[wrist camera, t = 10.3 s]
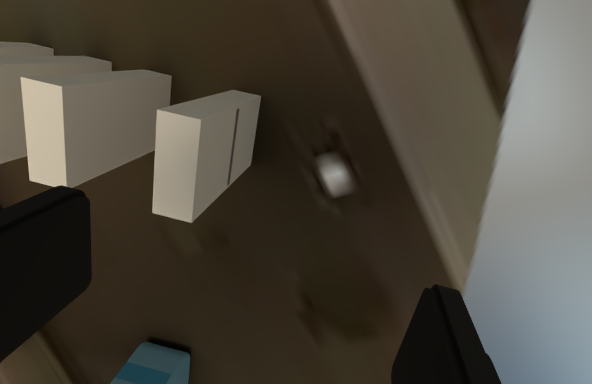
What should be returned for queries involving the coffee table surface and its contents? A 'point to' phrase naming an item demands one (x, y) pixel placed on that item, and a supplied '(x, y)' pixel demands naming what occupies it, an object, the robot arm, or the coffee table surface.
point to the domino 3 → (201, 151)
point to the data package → (155, 366)
